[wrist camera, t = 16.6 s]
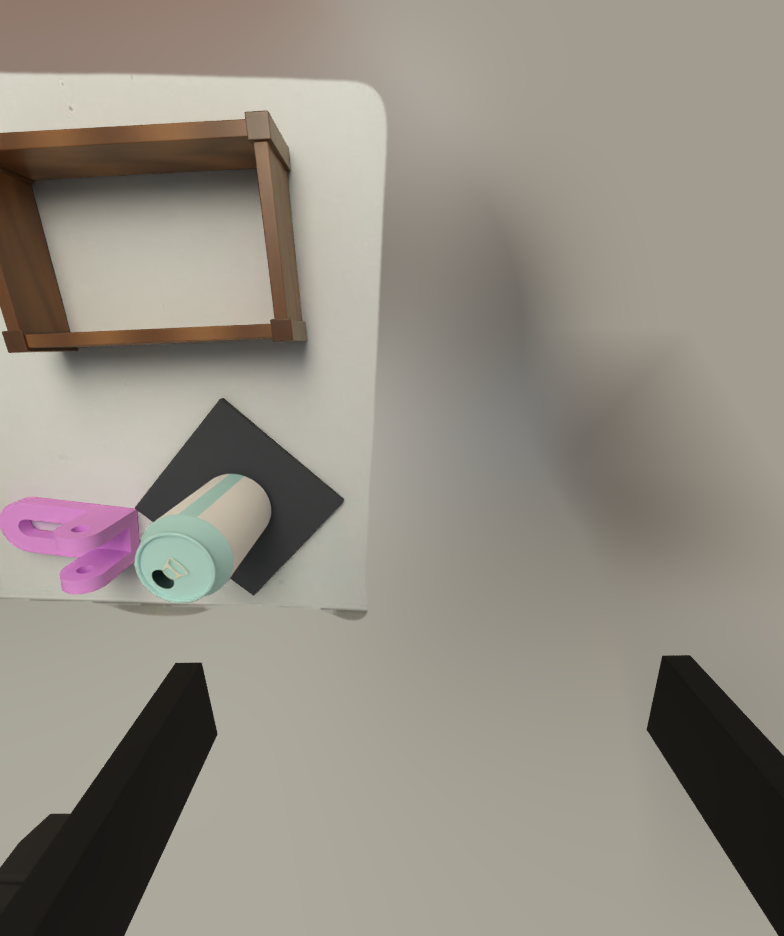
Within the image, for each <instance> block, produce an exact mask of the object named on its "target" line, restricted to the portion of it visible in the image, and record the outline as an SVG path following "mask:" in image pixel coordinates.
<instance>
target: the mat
mask: <svg viewBox="0 0 784 936" xmlns="http://www.w3.org/2000/svg"><path fill="white" fill-rule="evenodd" d="M224 474H238V475H242V476H245V477H248V478H250V479H252V480H253V481H255V482H256V483H257V484H259V485H260V486H261V487H262V488H263V490H264V491H265V493H266V494H267V496H268V498H269V501H270V504H271V517H270V521H269V523H268V525H267V527H266V528H265V529H264V531H263V532H262V534H261V535H260V536H259V538H258V539H257V541H256V542H255V543H254V545H253V546H252V548H251V549H250V550H249V552H248V553H247V555H246V556H245V557H244V559H243V560H242V562H241V563H240V564H239V566H238V567H237V569H236V570H235V571H234V573H233V574H232V576H231V577H230V579H232V580H233V581H234V582H236V583H237V584H238V585H240V586H241V587H243V588H244V589H245V590H247V591H248V592H249V593H251V594H252V595H254V594H255V593H256V592H257V591H258V590H259V589H260V588H261V587H262V586H263V585H264V584H265V583H266V582H267V581H268V580H269V579H270V578H271V577H272V576H273V575H274V573H275V572H276V571H277V570H278V569H279V568H280V567H281V566H282V565H283V564H284V563H285V562H286V561H287V560H288V559H289V558H290V557H291V556H292V555H293V554H294V553H295V552H296V550H297V549H298V548H299V547H300V546H301V545H302V544H303V543H304V542H305V541H306V540H307V539H308V538H309V537H310V536H311V535H312V534H313V533H314V532H315V531H316V530H317V528H318V527H319V526H320V525H321V524H322V523H323V522H324V521H325V520H326V519H327V518H328V517H329V516H330V515H331V514H332V513H333V512H334V511H335V510H336V509H337V508H338V506H339V505H340V504H341V503H342V502H343V501H344V499H343V498H342V497H341V496H339V495H338V494H337V493H336V492H335V491H334V490H332V489H331V488H330V487H329V486H328V485H326V484H325V483H324V482H323V481H322V480H320V479H319V478H318V477H317V476H316V475H314V474H313V473H312V472H311V471H310V470H308V469H307V468H306V467H305V466H304V465H302V464H301V463H300V462H299V461H298V460H297V459H295V458H294V457H293V456H292V455H291V454H289V453H288V452H287V451H286V450H285V449H283V448H282V447H281V446H280V445H279V444H277V443H276V442H275V441H274V440H273V439H271V438H270V437H269V436H268V435H267V434H265V433H264V432H263V431H262V430H261V429H259V428H258V427H257V426H256V425H255V424H254V423H252V422H251V421H250V420H249V419H248V418H246V417H245V416H244V415H243V414H242V413H240V412H239V411H238V410H237V409H236V408H234V407H233V406H232V405H231V404H230V403H228V402H227V401H226V400H225V399H224V398H222V399H220V400H219V401H218V403H217V404H216V405H215V406H214V408H213V409H212V410H211V411H210V413H209V414H208V415H207V417H206V418H205V419H204V420H203V422H202V423H201V424H200V425H199V427H198V428H197V429H196V431H195V432H194V433H193V434H192V436H191V437H190V438H189V439H188V441H187V442H186V443H185V445H184V446H183V447H182V448H181V450H180V451H179V452H178V453H177V455H176V456H175V457H174V459H173V460H172V461H171V462H170V464H169V465H168V466H167V467H166V469H165V470H164V471H163V473H162V474H161V475H160V476H159V478H158V479H157V480H156V481H155V483H154V484H153V485H152V487H151V488H150V489H149V490H148V492H147V493H146V494H145V496H144V497H143V498H142V499H141V501H140V502H139V503H138V504H137V506H136V507H135V509H136V510H138V511H139V512H140V513H142V514H143V515H144V516H146V517H147V518H149V519H150V520H151V521H153V522H154V521H156V520H157V519H158V518H160V517H161V516H163V515H164V514H165V513H167V512H168V511H169V510H171V509H172V508H173V507H175V506H176V505H178V504H179V503H180V502H182V501H183V500H184V499H186V498H187V497H189V496H190V495H191V494H193V493H194V492H195V491H197V490H198V489H199V488H201V487H202V486H204V485H205V484H206V483H208V482H209V481H210V480H212V479H213V478H215V477H217V476H220V475H224Z"/></svg>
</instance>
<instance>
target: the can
mask: <svg viewBox="0 0 784 936" xmlns="http://www.w3.org/2000/svg"><path fill="white" fill-rule="evenodd" d="M270 517H271V504H270V501H269V498H268V496H267V494H266V493H265V491H264V490H263V488H262V487H261V486H260V485H259V484H257V483H256V482H255V481H253V480H252V479H250V478H248V477H245V476H242V475H238V474H224V475H220V476H217V477H215V478H213V479H212V480H210V481H209V482H208V483H206V484H205V485H204V486H202V487H201V488H199V489H198V490H197V491H195V492H194V493H193V494H191V495H190V496H189V497H187V498H186V499H184V500H183V501H182V502H180V503H179V504H178V505H176V506H175V507H173V508H172V509H171V510H169V511H168V512H167V513H165V514H164V515H163V516H161V517H160V518H158V519H157V520H156V521H154V522H153V523H152V524H151V525H150V526H149V527H148V528H147V529H146V530H145V532H144V534H143V535H142V538H141V540H140V545H139V547H138V549H137V551H136V554H135V562H134V563H135V570H136V573H137V575H138V578H139V579H140V581H141V582H142V584H143V585H144V586H145V587H146V588H147V589H148V590H149V591H150V592H151V593H153V594H154V595H156V596H157V597H159V598H161V599H163V600H166V601H169V602H174V603H189V602H194V601H196V600H199V599H201V598H202V597H204V596H207V595H210V594H212V593H214V592H216V591H218V590H219V589H221V588H222V587H223V586H224V585H225V584H226V583H227V581H228V580H229V578H230V577H231V576H232V574H233V573H234V571H235V570H236V569H237V567H238V566H239V564H240V563H241V562H242V560H243V559H244V557H245V556H246V555H247V553H248V552H249V550H250V549H251V548H252V546H253V545H254V543H255V542H256V541H257V539H258V538H259V536H260V535H261V534H262V532H263V531H264V529H265V528H266V527H267V525H268V523H269V521H270Z"/></svg>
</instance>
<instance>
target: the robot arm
mask: <svg viewBox="0 0 784 936" xmlns="http://www.w3.org/2000/svg"><path fill="white" fill-rule="evenodd" d="M647 731H648V732H649V734H650V735H651V737H652V739H653V740H654V742H655V744H656V745H657V747H658V748H659V750H660V751H661V752H662V754H663V756H664V758H665V759H666V761H667V762H668V764H669V765H670V767H671V769H672V770H673V772H674V773H675V774H676V776H677V778H678V779H679V781H680V783H681V784H682V786H683V787H684V789H685V790H686V792H687V793H688V795H689V797H690V798H691V800H692V801H693V803H694V804H695V806H696V808H697V809H698V811H699V812H700V814H701V815H702V817H703V819H704V820H705V822H706V823H707V825H708V826H709V828H710V829H711V831H712V832H713V834H714V836H715V837H716V839H717V840H718V842H719V843H720V845H721V847H722V848H723V850H724V851H725V853H726V854H727V856H728V857H729V859H730V861H731V862H732V864H733V865H734V867H735V869H736V870H737V872H738V873H739V875H740V876H741V878H742V879H743V881H744V883H745V884H746V886H747V887H748V889H749V890H750V892H751V894H752V895H753V897H754V898H755V900H756V901H757V903H758V904H759V906H760V908H761V909H762V910H763V912H764V914H765V915H766V917H767V918H768V920H769V922H770V923H771V925H772V926H773V928H774V929H775V931H776V932H777V934H778V936H784V756H783V755H782V754H781V753H780V752H779V750H778V749H777V748H776V747H775V746H774V745H773V744H772V743H771V742H770V741H769V740H768V739H767V738H766V737H765V736H764V734H763V733H762V732H761V731H760V730H759V729H758V728H757V727H756V726H755V725H754V724H753V722H752V721H751V720H750V719H749V718H748V717H747V716H746V715H745V714H744V713H743V712H742V711H741V710H740V709H739V708H738V706H737V705H736V704H735V703H734V702H733V701H732V700H731V699H730V698H729V697H728V696H727V695H726V694H725V692H724V691H723V690H722V689H721V688H720V687H719V686H718V685H717V684H716V683H715V682H714V681H713V680H712V678H711V677H710V676H709V675H708V674H707V673H706V672H705V671H704V670H703V669H702V668H701V667H700V666H699V665H698V663H697V662H696V661H695V660H694V659H693V658H692V657H691V656H689V655H684V656H683V655H682V656H662V660H661V665H660V669H659V674H658V679H657V684H656V688H655V693H654V698H653V702H652V707H651V712H650V717H649V721H648V726H647ZM216 736H217V730H216V725H215V721H214V717H213V712H212V707H211V703H210V698H209V693H208V689H207V684H206V680H205V675H204V671H203V666H202V663H175V665H174V666H173V668H172V669H171V670H170V672H169V673H168V675H167V676H166V678H165V679H164V680H163V682H162V683H161V685H160V686H159V688H158V689H157V691H156V692H155V693H154V695H153V696H152V698H151V699H150V701H149V702H148V704H147V705H146V706H145V708H144V709H143V711H142V712H141V714H140V715H139V717H138V718H137V719H136V721H135V722H134V724H133V725H132V727H131V728H130V729H129V731H128V732H127V734H126V735H125V737H124V738H123V740H122V741H121V742H120V744H119V745H118V747H117V748H116V749H115V751H114V752H113V754H112V755H111V757H110V758H109V759H108V761H107V762H106V764H105V765H104V767H103V768H102V770H101V771H100V773H99V774H98V775H97V777H96V778H95V780H94V781H93V783H92V784H91V785H90V787H89V788H88V790H87V791H86V793H85V794H84V795H83V797H82V798H81V800H80V801H79V803H78V804H77V805H76V807H75V808H74V810H73V811H72V813H71V814H50V815H49V816H48V817H46V819H44V820H43V821H42V822H41V823H40V824H39V825H38V826H37V827H36V828H34V829H33V830H32V831H31V832H30V833H29V834H28V835H27V836H26V837H25V838H24V839H23V840H21V842H19V844H18V845H17V846H16V847H15V849H14V850H13V851H12V853H11V854H10V855H9V857H8V858H7V859H6V861H5V862H4V863H3V865H2V866H1V867H0V936H124V935H125V933H126V931H127V928H128V926H129V924H130V922H131V920H132V918H133V915H134V913H135V911H136V909H137V907H138V904H139V902H140V900H141V898H142V896H143V894H144V892H145V890H146V887H147V885H148V883H149V881H150V879H151V877H152V875H153V872H154V870H155V868H156V866H157V864H158V862H159V859H160V857H161V855H162V853H163V851H164V849H165V846H166V844H167V842H168V840H169V838H170V836H171V833H172V831H173V829H174V827H175V825H176V823H177V820H178V818H179V816H180V814H181V812H182V810H183V807H184V805H185V803H186V801H187V799H188V797H189V795H190V792H191V790H192V788H193V786H194V784H195V782H196V779H197V777H198V775H199V773H200V771H201V769H202V767H203V764H204V762H205V760H206V758H207V756H208V754H209V751H210V749H211V747H212V745H213V742H214V741H215V738H216Z"/></svg>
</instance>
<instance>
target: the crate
mask: <svg viewBox="0 0 784 936" xmlns="http://www.w3.org/2000/svg"><path fill="white" fill-rule="evenodd" d="M250 168H257V175H258V184H259V192H260V200H261V209H262V217H263V225H264V234H265V242H266V250H267V259H268V267H269V275H270V284H271V292H272V300H273V309H274V317H275V319H271V320H270V322H271V324H255V325H232V326H210V327H187V328H164V329H141V330H119V331H96V332H70V331H69V327H68V323H67V319H66V316H65V312H64V308H63V304H62V300H61V297H60V293H59V289H58V285H57V282H56V278H55V274H54V270H53V267H52V263H51V259H50V255H49V251H48V248H47V244H46V240H45V236H44V233H43V229H42V225H41V221H40V218H39V214H38V210H37V206H36V203H35V199H34V195H33V191H32V187H31V185H34V181H33V180H44V179H63V178H82V177H100V176H119V175H138V174H156V173H175V172H194V171H212V170H231V169H250ZM290 170H291V169H290V159H289V149H288V146H287V144H286V143H285V141H284V139H283V137H282V135H281V133H280V132H279V130H278V128H277V126H276V124H275V123H274V121H273V119H272V117H271V115H270V114H269V112H268V111H253V112H245V119H240V120H222V121H204V122H187V123H169V124H151V125H134V126H116V127H98V128H81V129H63V130H45V131H28V132H10V133H0V307H1V310H2V314H3V317H4V320H5V323H6V327H7V330H8V331H3V332H2V334H3V337H4V340H5V343H6V346H7V350H8V352H9V353H22V352H66V351H78V347H101V346H124V345H147V344H171V343H194V342H217V341H240V340H263V339H273V341H278V342H299V341H307V332H306V323H305V322H302V315H301V305H300V295H299V285H298V275H297V266H296V256H295V246H294V236H293V226H292V216H291V206H290V196H289V186H288V176H287V171H290Z"/></svg>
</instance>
